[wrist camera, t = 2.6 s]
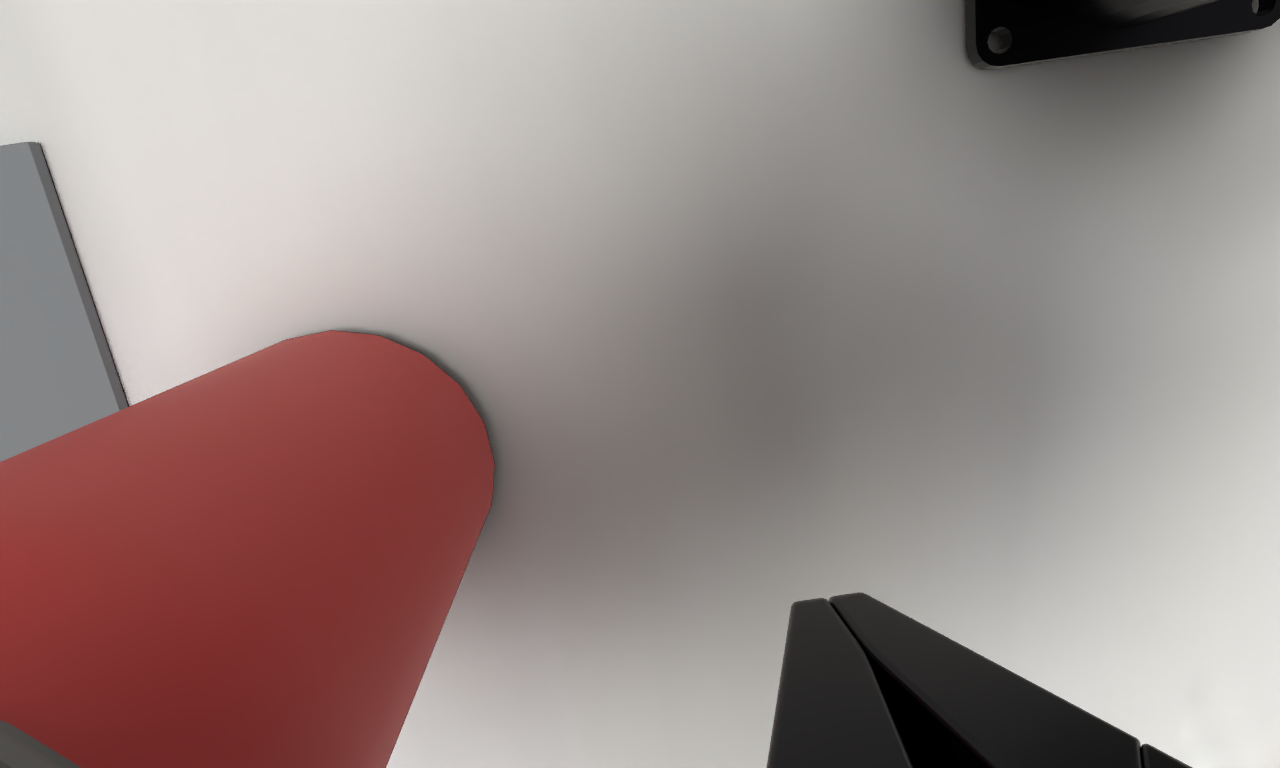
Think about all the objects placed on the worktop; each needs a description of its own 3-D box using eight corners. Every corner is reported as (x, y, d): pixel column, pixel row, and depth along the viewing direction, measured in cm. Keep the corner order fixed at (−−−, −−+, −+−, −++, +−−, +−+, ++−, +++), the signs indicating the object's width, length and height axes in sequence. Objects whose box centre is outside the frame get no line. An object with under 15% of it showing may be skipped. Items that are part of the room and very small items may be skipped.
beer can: (414, 626, 18) (68, 1369, 7) (174, 497, 17) (-745, 1120, 6) (551, 422, 17) (416, 902, 5) (301, 269, 16) (-543, 458, 4)
